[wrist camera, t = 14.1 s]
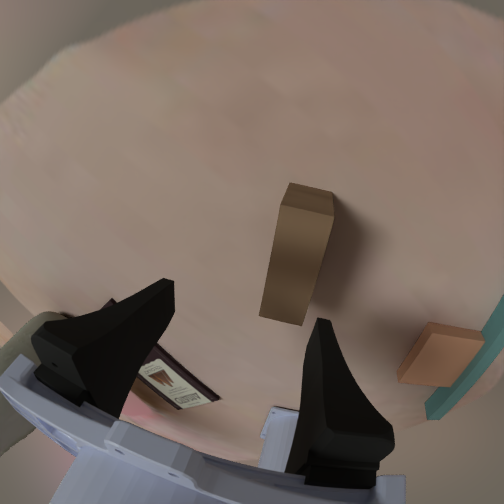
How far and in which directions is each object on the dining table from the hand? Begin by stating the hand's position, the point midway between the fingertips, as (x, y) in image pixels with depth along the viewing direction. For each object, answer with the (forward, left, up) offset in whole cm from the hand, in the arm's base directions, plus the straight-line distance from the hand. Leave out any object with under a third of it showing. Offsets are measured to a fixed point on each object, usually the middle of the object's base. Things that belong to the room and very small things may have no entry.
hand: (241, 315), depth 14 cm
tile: (-8, -19, -10) cm, 23 cm away
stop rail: (-7, -24, -9) cm, 26 cm away
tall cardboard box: (0, -2, -10) cm, 10 cm away
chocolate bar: (-21, +12, -10) cm, 26 cm away
